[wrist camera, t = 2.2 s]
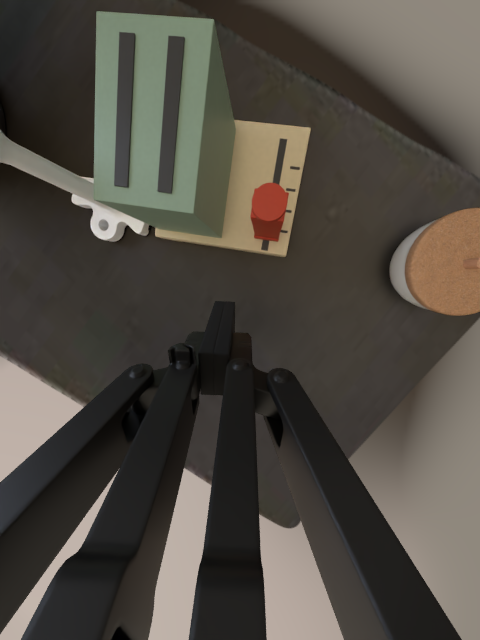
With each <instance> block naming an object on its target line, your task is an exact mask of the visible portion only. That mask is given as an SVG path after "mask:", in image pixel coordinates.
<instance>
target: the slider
mask: <svg viewBox="0 0 480 640" xmlns="http://www.w3.org/2000/svg"><path fill="white" fill-rule="evenodd" d="M288 196H289V193H288V192H285V190H284V189H283V188H282V187H281V186H280V185H278V184H276V183H265V184H263V185H261V186H260V187H259V188H255V190H254V194H253V197H252V209H251V215H250V217H251V221H252V225H253V229H254V238H255V239H262V240H269V241H276V242H278V241H279V235H280V231H281V228H282V225H283V222H284V218H285V212H286V208H287V203H288Z"/></svg>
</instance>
